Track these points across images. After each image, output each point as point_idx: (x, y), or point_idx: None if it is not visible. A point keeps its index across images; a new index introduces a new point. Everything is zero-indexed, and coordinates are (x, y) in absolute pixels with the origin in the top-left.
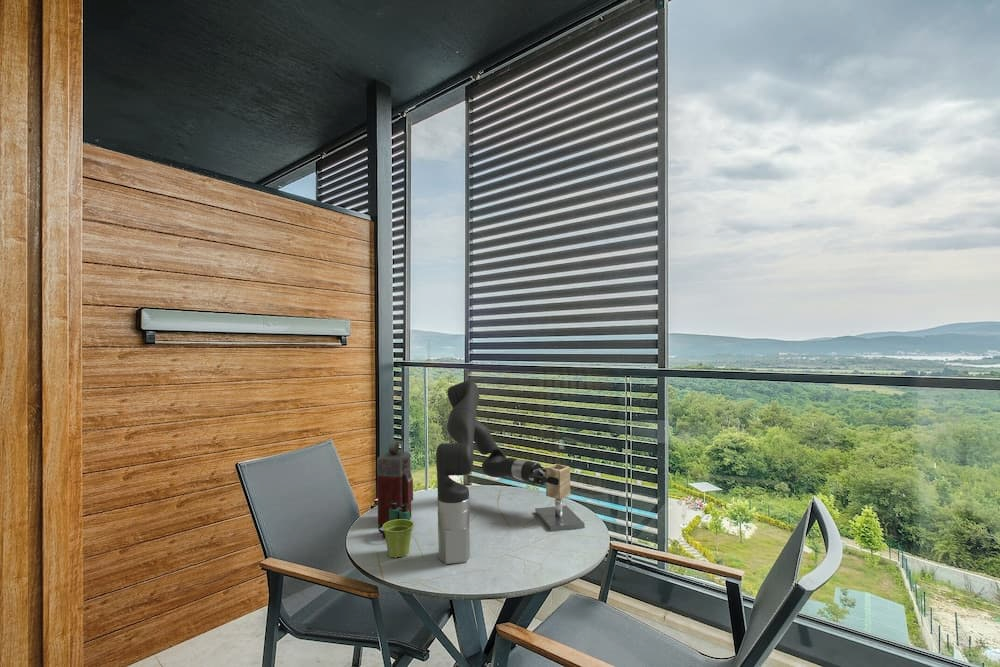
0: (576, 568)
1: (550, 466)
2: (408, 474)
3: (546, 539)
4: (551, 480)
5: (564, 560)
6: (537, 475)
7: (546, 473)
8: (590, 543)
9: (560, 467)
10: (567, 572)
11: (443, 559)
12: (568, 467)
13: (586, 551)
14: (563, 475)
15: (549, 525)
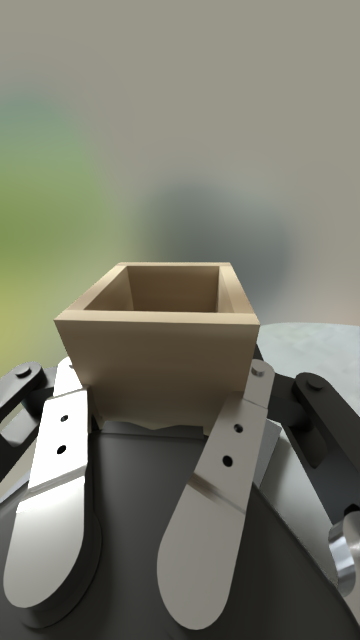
0: (326, 325)
1: (191, 312)
2: None
3: None
4: (255, 347)
5: (333, 343)
6: (294, 538)
7: (245, 372)
8: None
9: (107, 306)
10: (348, 327)
11: None
12: (136, 263)
13: (273, 337)
14: (189, 299)
15: (277, 436)
